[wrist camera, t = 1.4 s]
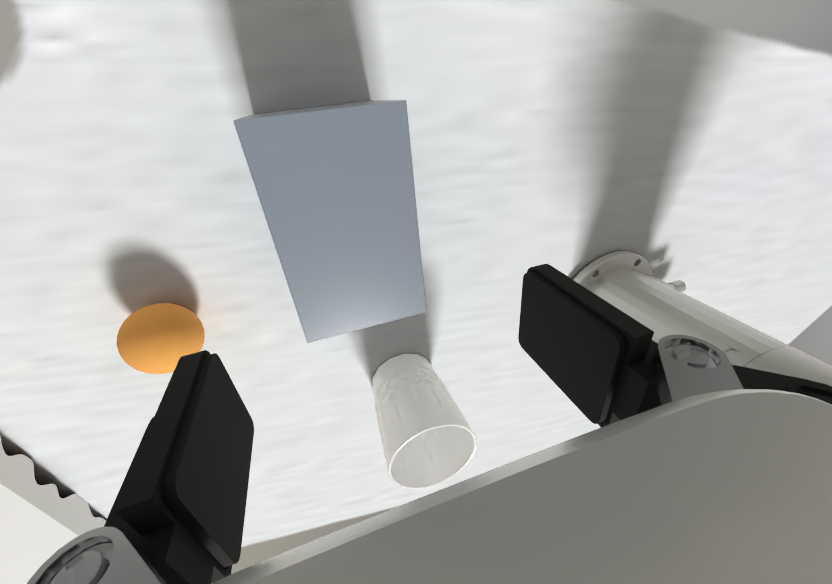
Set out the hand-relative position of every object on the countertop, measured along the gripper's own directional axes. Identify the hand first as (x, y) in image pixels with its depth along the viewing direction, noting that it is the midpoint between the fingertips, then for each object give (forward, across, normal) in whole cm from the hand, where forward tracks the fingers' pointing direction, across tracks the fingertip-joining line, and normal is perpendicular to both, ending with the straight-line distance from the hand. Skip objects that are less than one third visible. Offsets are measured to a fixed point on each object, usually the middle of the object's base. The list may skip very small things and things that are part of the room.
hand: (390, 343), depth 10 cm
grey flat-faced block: (+18, 0, 0) cm, 18 cm away
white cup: (+19, -3, +20) cm, 27 cm away
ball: (+16, +14, +7) cm, 22 cm away
